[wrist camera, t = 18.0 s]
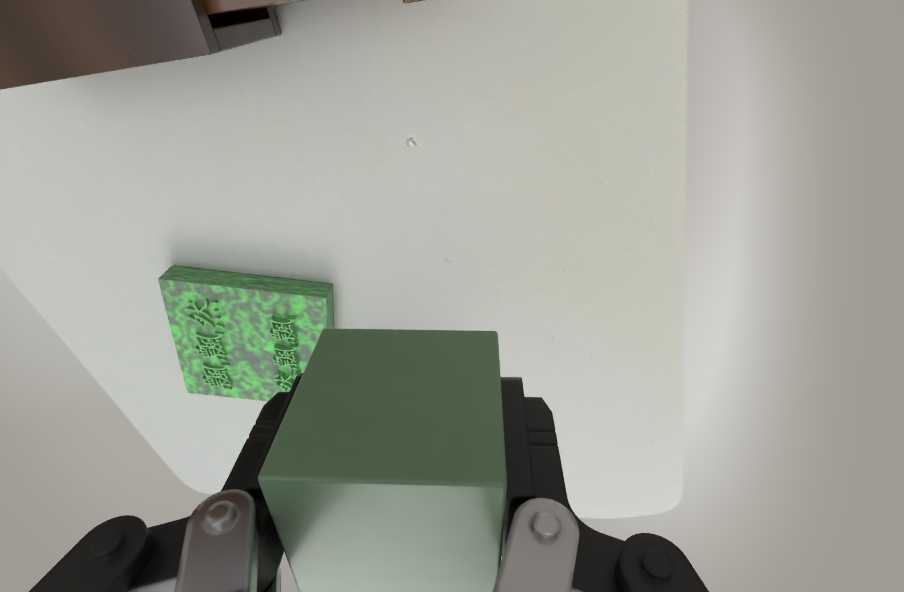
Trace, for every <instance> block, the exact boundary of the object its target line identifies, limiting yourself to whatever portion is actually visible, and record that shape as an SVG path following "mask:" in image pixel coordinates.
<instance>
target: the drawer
mask: <svg viewBox="0 0 904 592" xmlns="http://www.w3.org/2000/svg"><path fill="white" fill-rule="evenodd" d="M298 1H304V0H202V2H203V5H204V7H205V10H206V13H207V16H208V17H213V16H219V15H224V14H230V13H236V12H241V11H247V10H253V9H258V8H264V7H270V6H275V5H281V4H287V3H292V2H298ZM417 1H423V0H403V2H404V3H411V2H417Z"/></svg>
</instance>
